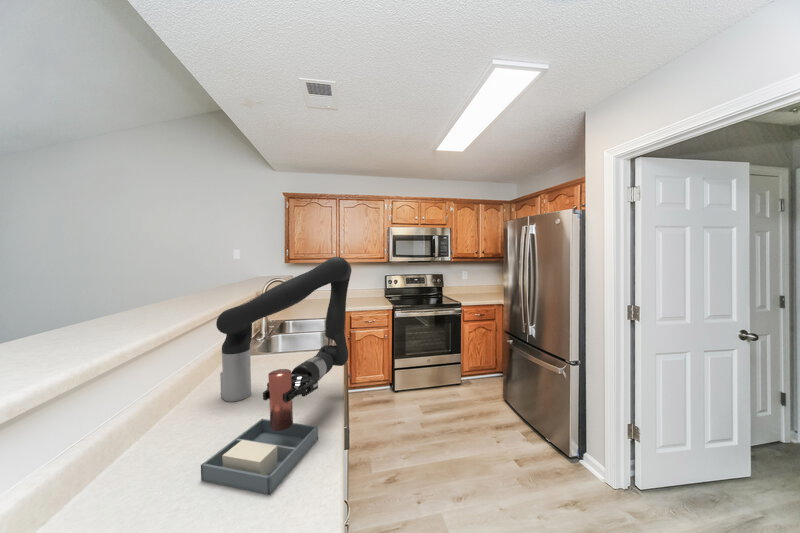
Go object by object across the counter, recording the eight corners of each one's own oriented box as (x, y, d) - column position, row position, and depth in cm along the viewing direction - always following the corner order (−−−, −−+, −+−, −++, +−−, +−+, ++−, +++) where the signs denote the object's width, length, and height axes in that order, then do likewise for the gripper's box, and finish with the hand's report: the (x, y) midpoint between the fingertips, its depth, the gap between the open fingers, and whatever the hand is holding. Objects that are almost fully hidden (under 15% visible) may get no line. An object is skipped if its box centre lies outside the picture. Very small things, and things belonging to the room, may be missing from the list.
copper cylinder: (265, 429, 78) (263, 376, 77) (279, 417, 83) (277, 368, 83) (284, 432, 76) (282, 378, 76) (297, 420, 82) (295, 369, 81)
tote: (201, 484, 68) (200, 465, 68) (262, 433, 87) (261, 418, 87) (270, 499, 63) (269, 478, 63) (318, 442, 83) (317, 426, 83)
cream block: (222, 476, 69) (222, 455, 68) (242, 459, 74) (242, 439, 74) (260, 484, 66) (259, 462, 66) (277, 465, 72) (277, 445, 72)
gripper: (288, 359, 95) (250, 381, 78) (330, 362, 91) (298, 385, 75) (289, 382, 95) (251, 409, 79) (331, 386, 92) (299, 415, 75)
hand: (274, 397), depth 77 cm, fingers closed on copper cylinder, 5 cm apart
